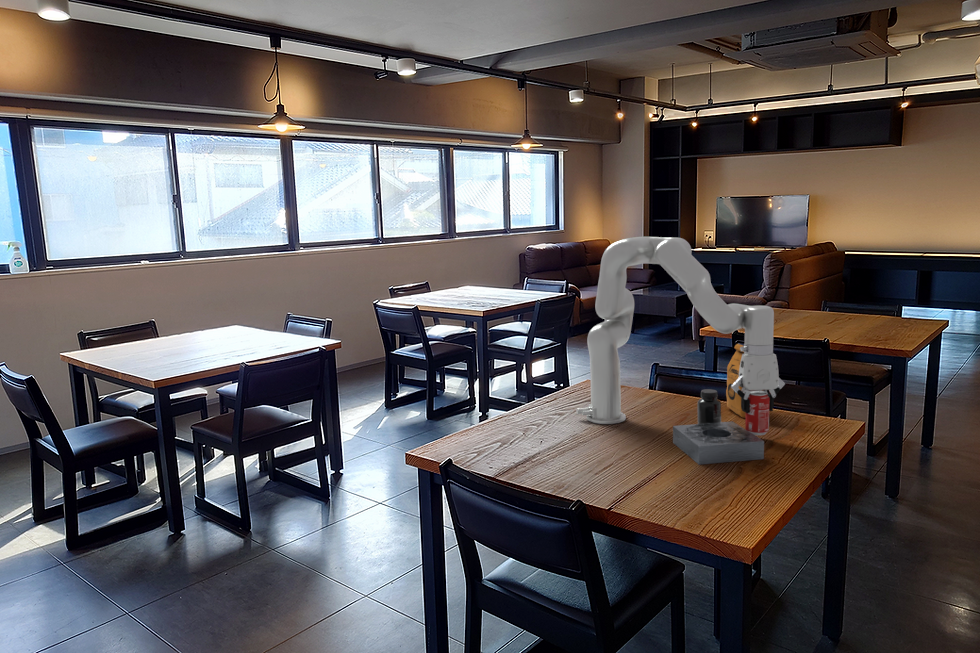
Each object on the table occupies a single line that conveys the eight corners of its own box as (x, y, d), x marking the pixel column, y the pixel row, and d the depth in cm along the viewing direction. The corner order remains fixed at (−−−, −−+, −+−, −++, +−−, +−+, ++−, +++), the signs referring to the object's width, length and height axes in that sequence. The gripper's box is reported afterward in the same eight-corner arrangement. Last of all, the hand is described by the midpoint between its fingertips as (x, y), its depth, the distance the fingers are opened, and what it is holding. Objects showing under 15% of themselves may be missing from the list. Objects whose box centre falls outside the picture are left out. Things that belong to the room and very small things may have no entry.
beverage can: (748, 428, 201) (749, 388, 199) (771, 431, 198) (772, 391, 196) (742, 434, 196) (743, 393, 194) (765, 437, 193) (766, 396, 191)
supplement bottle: (718, 425, 211) (718, 387, 209) (723, 432, 204) (723, 393, 202) (695, 425, 212) (695, 388, 210) (699, 432, 205) (700, 394, 203)
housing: (698, 464, 180) (698, 446, 179) (672, 442, 198) (672, 425, 197) (763, 459, 182) (764, 441, 181) (732, 437, 200) (732, 421, 199)
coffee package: (736, 419, 217) (737, 351, 213) (723, 408, 229) (723, 343, 225) (767, 418, 217) (769, 349, 213) (752, 407, 229) (754, 342, 225)
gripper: (735, 354, 188) (734, 417, 191) (794, 350, 190) (793, 412, 193) (723, 349, 196) (722, 409, 199) (780, 345, 198) (778, 405, 201)
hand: (757, 410), depth 196 cm, fingers closed on beverage can, 6 cm apart
